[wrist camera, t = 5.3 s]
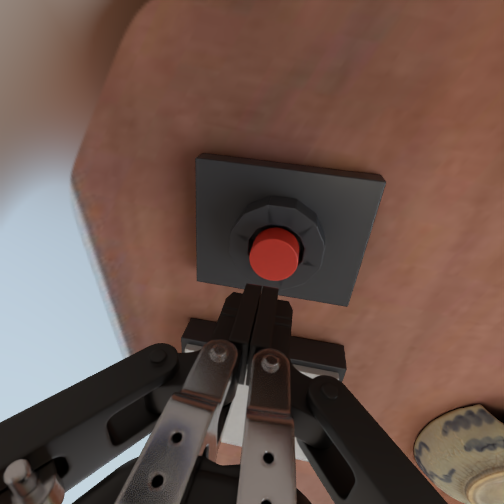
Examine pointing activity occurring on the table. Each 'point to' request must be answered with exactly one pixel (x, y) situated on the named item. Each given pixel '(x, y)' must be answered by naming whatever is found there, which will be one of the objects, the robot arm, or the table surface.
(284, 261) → the button
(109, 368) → the robot arm
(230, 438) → the scale
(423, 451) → the decorative bowl
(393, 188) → the table surface
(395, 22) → the table surface
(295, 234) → the panel
